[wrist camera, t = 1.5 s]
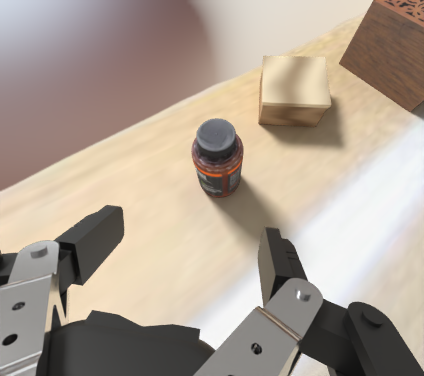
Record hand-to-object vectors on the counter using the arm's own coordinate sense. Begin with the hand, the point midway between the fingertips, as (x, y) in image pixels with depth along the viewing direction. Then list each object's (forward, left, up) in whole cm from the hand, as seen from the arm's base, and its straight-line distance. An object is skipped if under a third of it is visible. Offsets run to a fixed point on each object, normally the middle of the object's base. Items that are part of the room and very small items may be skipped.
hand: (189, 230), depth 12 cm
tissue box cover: (-34, -39, -18) cm, 55 cm away
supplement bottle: (0, -11, -17) cm, 20 cm away
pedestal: (-10, -26, -17) cm, 33 cm away
